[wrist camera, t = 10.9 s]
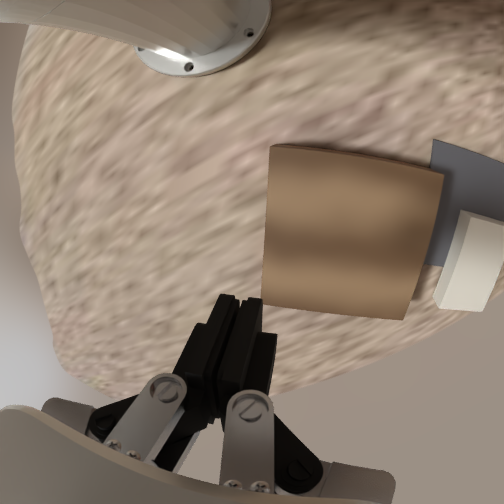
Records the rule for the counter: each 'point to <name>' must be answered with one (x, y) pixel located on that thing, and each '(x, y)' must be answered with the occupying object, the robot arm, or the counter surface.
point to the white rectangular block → (471, 263)
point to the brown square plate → (346, 231)
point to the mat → (463, 193)
